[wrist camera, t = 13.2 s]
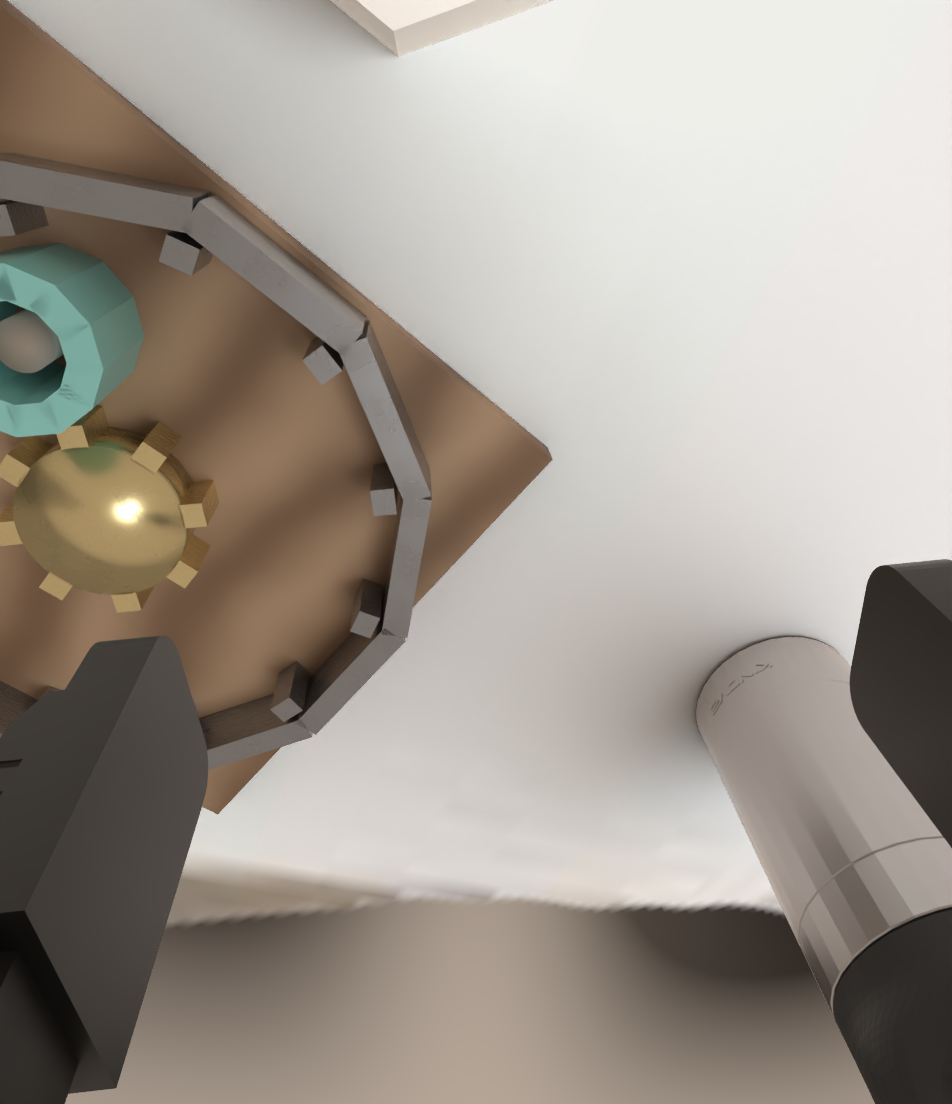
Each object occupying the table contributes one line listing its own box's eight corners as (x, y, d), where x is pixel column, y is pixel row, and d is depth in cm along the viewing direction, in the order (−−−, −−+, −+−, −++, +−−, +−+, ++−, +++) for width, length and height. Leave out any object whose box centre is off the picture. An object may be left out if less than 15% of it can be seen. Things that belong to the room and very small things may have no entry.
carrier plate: (547, 447, 38) (567, 495, 33) (223, 794, 47) (201, 872, 42) (-28, -28, 28) (-118, -58, 23) (-302, 527, 37) (-408, 588, 32)
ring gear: (543, 460, 37) (553, 486, 34) (216, 808, 46) (204, 851, 43) (-44, -20, 27) (-93, -35, 24) (-318, 541, 36) (-376, 575, 33)
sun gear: (256, 487, 37) (246, 510, 34) (155, 615, 39) (140, 644, 37) (76, 364, 33) (53, 382, 31) (-20, 513, 36) (-48, 539, 34)
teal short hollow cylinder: (159, 286, 32) (119, 312, 28) (120, 416, 35) (77, 460, 30) (2, 216, 31) (-67, 232, 26) (-28, 358, 33) (-96, 395, 29)
